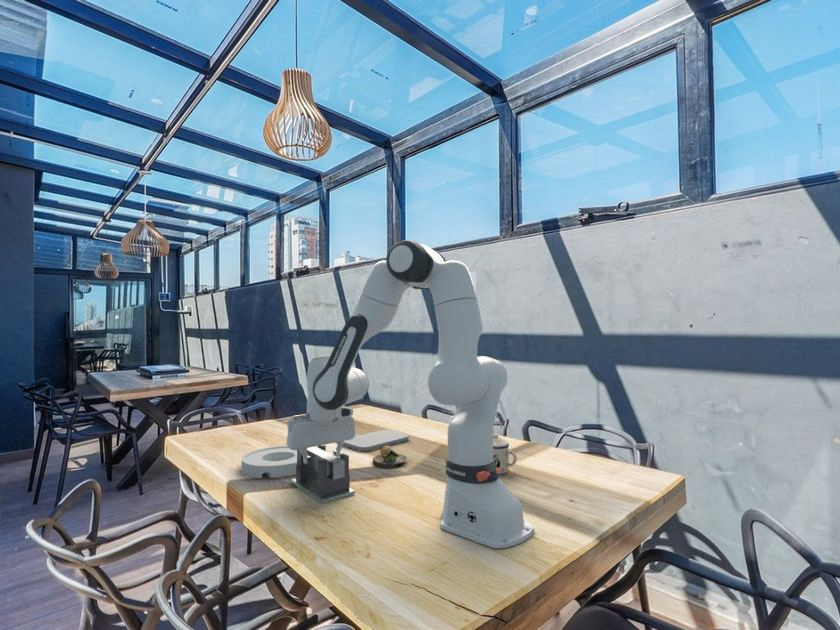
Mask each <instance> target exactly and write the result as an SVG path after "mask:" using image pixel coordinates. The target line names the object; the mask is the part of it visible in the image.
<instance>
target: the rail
mask: <svg viewBox="0 0 840 630" xmlns="http://www.w3.org/2000/svg"><path fill="white" fill-rule="evenodd" d="M305 453H306V455H307V456H310V457H311V460H310V461H311V462H310V463H307V464H306V465H308V466H310V467H311V468H313V469H315V470H317V471H318V459H320V458H323V459H325V460H327V477H329V478H331V479H332V480H335V479H339V478H343V477H345V460H343V459H341V458H340V457H336V456H334V455H333V454H332V453H330V452H327V450H326V451H324V450H322V449H320V448H318V446H314V447H309V448H307V452H305Z"/></svg>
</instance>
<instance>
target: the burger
mask: <svg viewBox="0 0 840 630" xmlns="http://www.w3.org/2000/svg"><path fill="white" fill-rule="evenodd" d="M382 444H383V443H382ZM379 452H380V454H378V455H376V456H374V457H372V465H373V466H374V467H376V468H380V469H397V468H398V467H399V466H400V464H403V463H404V462H405V461H407V459H408V458H407V456H405V455H403V454H398V453H397V452H396V451H394V450H393V449H392V446H391V445H390V446H384V447H382V448H380V451H379Z"/></svg>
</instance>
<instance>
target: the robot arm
mask: <svg viewBox="0 0 840 630" xmlns="http://www.w3.org/2000/svg"><path fill="white" fill-rule="evenodd" d="M385 259H386V260H380V261H378V262H376V263H375V264H374V265H373V267H372V269H371V271H370V273H369V274H368V276H367V277H366V280H365V283H364V285H363V287H362V290H361V292H360V295H359V297H358V300H357V303H356V304H355V307H354V309H353V311H352V313H351V314H350V315H349V318H348V320H347V321H346V323H345V324H344V326H343V328H342V330H341V332H340V334H339V336H338V339H337V340H336V343H335V345H334V347H333V349H332V351H331V353H330V355H326V356H325V355H324V356H319V357H318V356H317V357H315V358H313V359H311V360H310V361H309V363H308V367H307V374H306V388H307V394H308V395H307V399H306V413H304V414H299V415H297V414H296V415H293V416H292V417H290V418H289V419H288V420H287V437H286V446H288V447H289V448H290V449H292V450H299V451H300V453H301V454H302V456H303V463H304V464H307V463H310V462H311V461H310V460H311V457H310V456H307V455H306V453H305V452H307V448H309V447H314V446H315V447H318V446H320V445H328V444H334V443H336V445H337V446H336V448H335V449H333V450H332V451H333V452H332V453H333V454H332V455H334V456H336V457H338V458H340V454H341V451H342V449H343V448H344V446H343V445H344V441H346V440H351V439H353V438H354V436H356V424H355V419H354V417H353V415H354V409H353V408H351V407H348V406H345V405H348V404H351V403H353V402H357V401H358V400H360V399H362V398H364V397H365V396H366V394H367V393H368V391H369V389H370V388H369V387H370V385H369V378H368V376H367V374H366V373H365V371H363V370H362V369H360V368H358V367H357V368H356V367H353V365H354V363H355V360H356V358H357V356H358V354H359V352H360V349H361V348H362V347H363V345H364V344H366V342H368V340H370V338H373V337H374V336H375V335H378V334H379V333H381V332H383V331H385V330H386V329H387V328H388V327H389V326H390V325H391V323H392V321H393V320H394V318H395V316H396V313H397V311H398V308H399V306H400V302H401V300H402V297H403V295H404V293H405V292H406V291H407V290H408V289H409V288H412V289H415V290H430V292H431V295H432V300H433V306H434V311H435V312H434V314H435V319H436V324H437V332H438V333H437V334H438V347H437V348H438V350H437V355H436V361H435V363H434V366H433V367H432V369H431V371H430V372H429V375H428V377H427V379H428V380H427V387H428V390H429V393H430V395H431V397H432V398H433V400H434V401H436V402H437V403H439V404H441V405H444V406H445V405H446V406H453V407H454V406H455V407H456V410H455V413H454V415H453V417H452V419H451V421H450V422H449V424H448V427H447V457H446V459H445V474H446V476H447V478H446V479H447V480H446V486H445V492H444V501H443V508H442V511H441V515H440V517H441V521H440V525H439V526H440V527H439V528H440V529H441V530H443V531H445V532H448V533H451V534H454V535H457V536H459V537H462V538H465V539H468V540H470V541H473V542H475V543H478V544H481V545H484V546H487V547H489V548H491V549H505V548H510V547H513V546H516V545H518V544H520V543H524V541H526V540H528V539H529V538H531V537H532V536H533V534H534V533H535V527H534V525H533V524H532V523H530V522H529V521H527V520H525V518H524V512H523V506H522V503H521V502H520V500H519V499H518V498H517V497H516V496H515V494H514V493H513V492H512V491H511V490H510V489H509V487H508V486H507V485H506V484H505V482H503V481H502V480H501V478H500V474H499V472H502V471H499V470H501V469H502V467H499V468H497V466H496V463H495V460H494V459H493V434H494V426H495V419H496V416H497V411H498V407H499V403H500V398H501V395H502V393H503V391H504V390H505V388H506V386H507V384H508V380H509V379H508V372H507V369H506V367H505V365H504V364H503V363H502V362H501V361H499V360H497V359H495V358H493V357H489V356H484V355H480V356H478V344H479V339H480V337H481V335H482V334H483V330H484V329H483V328H484V327H483V322H482V315H481V311H480V307H479V300H478V297H477V292H476V288H475V285H474V282H473V278H472V275H471V273H470V270H469V268H468V267H467V265H466V264H465V263H463V262H461V261H459V260H446V259H445V257H444V256H443V255H442V254H441V253H439V252H437V251H436V250H434V249H432V248H431V247H429V246H427V245H426V244H422V243H419V242H417V241H416V240H409V239H405V240H400V241H397V242H395V243H394V244H393V245H392V246H391V247H390V248H389V250H388V252H387V254H386V258H385Z"/></svg>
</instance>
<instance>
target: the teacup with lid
mask: <svg viewBox="0 0 840 630" xmlns="http://www.w3.org/2000/svg"><path fill="white" fill-rule="evenodd" d="M509 447H510V443H509V442H508V441H507V440H506V439H502V437H500V436H499V435H498V434H497V433H493V459H494V460H495V463H496V466H497V468H499V467H502V469H501V470H499V471H502V472H499V475H504V474H506V473H508V472H509V467H512V466H514V465H515V464H516V463H517V454H516V452H514V451H513V450H511V449H509ZM509 454H510V455H512V458H513V460H512V463H509V461H510V460H509Z"/></svg>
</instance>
